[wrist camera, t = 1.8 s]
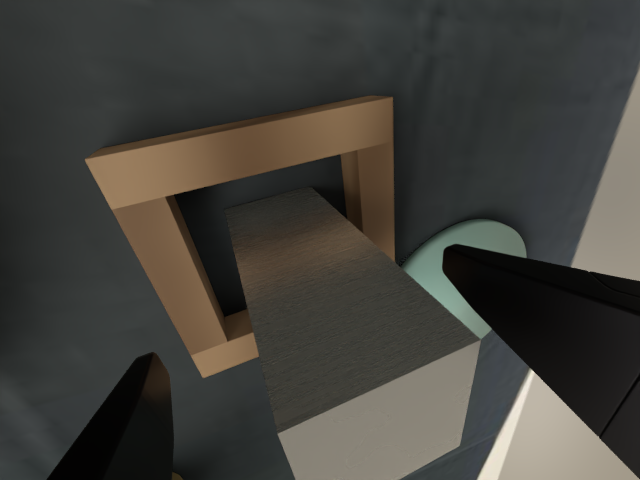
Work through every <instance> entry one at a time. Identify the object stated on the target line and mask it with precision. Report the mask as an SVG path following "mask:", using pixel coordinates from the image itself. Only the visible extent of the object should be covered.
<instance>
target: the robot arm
mask: <svg viewBox="0 0 640 480" xmlns="http://www.w3.org/2000/svg"><path fill="white" fill-rule="evenodd" d="M442 270H443V273H444V274H445V276H446V277H447V278H448V280H449V281H450V282H451V283H452V284H453V286H454V287H455V288H456V289H457V291H458V292H459V293H460V294H461V296H462V297H463V298H464V299H465V301H466V302H467V303H468V304H469V305H470V307H471V308H472V309H473V310H474V311H475V312H476V313H477V314H478V315H479V316H480V317H481V318H482V319H483V320H484V321H485V322H486V323H487V324H488V325H489V326H490V327H491V328H492V329H493V330H494V332H495V333H496V334H497V335H498V336H499V337H500V338H501V339H502V340H503V341H504V342H505V343H506V344H507V345H508V346H509V347H510V348H511V349H512V350H513V351H514V352H515V353H516V354H517V355H518V356H519V357H520V358H521V359H522V360H523V361H524V362H525V363H526V364H527V365H528V366H529V367H530V368H531V369H532V370H533V371H534V372H535V373H536V374H537V375H538V376H539V377H540V378H541V379H542V380H543V381H544V382H545V383H546V384H547V385H548V386H549V387H550V388H551V389H552V390H553V391H554V392H555V393H556V394H557V395H558V396H559V397H560V398H561V399H562V400H563V402H564V403H566V404H567V406H569V408H570V409H571V410H572V411H573V412H574V413H575V414H576V415H577V416H578V417H579V418H580V419H581V420H582V421H583V422H584V423H585V424H586V425H587V426H588V427H589V428H590V429H591V430H592V431H593V432H594V433H595V434H596V435H597V436H599V438H600V439H601V440H602V441H603V442H604V443H605V444H606V445H607V446H608V447H609V448H610V450H611V451H613V453H614V454H615V455H617V456H618V458H619V459H620V460H621V461H623V463H624V464H625V465H626V466H627V467H628V468H629V469H630V470H631V471H632V472H633V473H634V474H635V475H636V476H637V477H638V478H639V479H640V281H636V280H630V279H625V278H620V277H615V276H610V275H605V274H600V273H596V272H588V271H585V270H581V269H576V268H571V267H567V266H562V265H557V264H552V263H547V262H543V261H538V260H533V259H528V258H523V257H519V256H514V255H509V254H504V253H499V252H495V251H490V250H485V249H480V248H475V247H471V246H466V245H461V244H453V245H450V246H447V247H446V248H445V249H444V251H443V261H442ZM173 449H174V431H173V416H172V402H171V387H170V377H169V373H168V371H167V369H166V368H165V366H164V365H163V363H162V362H161V360H160V358H159V357H158V355H157V354H156V353H154V352H151V353H148V354H145V355H142V356H140V357H138V358H136V359H135V360H134V362H133V363H132V364H131V366H130V367H129V369H128V370H127V371H126V373H125V374H124V375H123V377H122V378H121V379H120V381H119V382H118V383H117V385H116V386H115V387H114V389H113V390H112V392H111V393H110V394H109V396H108V397H107V398H106V400H105V401H104V402H103V404H102V405H101V406H100V408H99V409H98V410H97V412H96V413H95V415H94V416H93V417H92V419H91V420H90V421H89V423H88V424H87V425H86V427H85V428H84V429H83V431H82V432H81V434H80V435H79V436H78V438H77V439H76V440H75V442H74V443H73V444H72V446H71V447H70V448H69V450H68V451H67V452H66V454H65V455H64V457H63V458H62V459H61V461H60V462H59V463H58V465H57V466H56V467H55V469H54V470H53V471H52V473H51V474H50V475H49V477H48V478H47V480H172V470H173Z"/></svg>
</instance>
